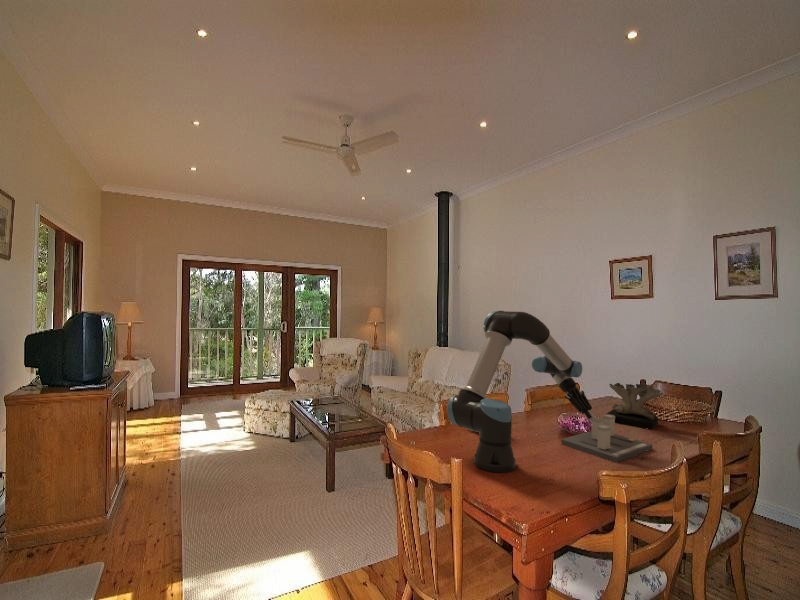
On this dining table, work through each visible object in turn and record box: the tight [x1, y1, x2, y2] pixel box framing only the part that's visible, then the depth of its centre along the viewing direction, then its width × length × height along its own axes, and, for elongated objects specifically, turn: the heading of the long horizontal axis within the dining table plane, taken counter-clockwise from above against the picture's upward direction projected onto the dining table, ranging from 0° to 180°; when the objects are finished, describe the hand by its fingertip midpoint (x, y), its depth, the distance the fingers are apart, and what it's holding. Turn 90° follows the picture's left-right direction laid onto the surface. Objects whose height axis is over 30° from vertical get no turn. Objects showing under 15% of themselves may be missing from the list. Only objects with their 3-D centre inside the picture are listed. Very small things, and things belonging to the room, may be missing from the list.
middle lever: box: [591, 416, 604, 440], centre depth 178 cm, size 4×3×9 cm
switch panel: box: [560, 430, 653, 463], centre depth 174 cm, size 28×24×2 cm
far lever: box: [602, 413, 616, 436], centre depth 183 cm, size 4×3×9 cm
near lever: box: [597, 425, 611, 450], centre depth 166 cm, size 4×3×9 cm
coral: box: [605, 382, 664, 430], centre depth 208 cm, size 25×20×22 cm
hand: (596, 423), depth 188 cm, fingers closed
